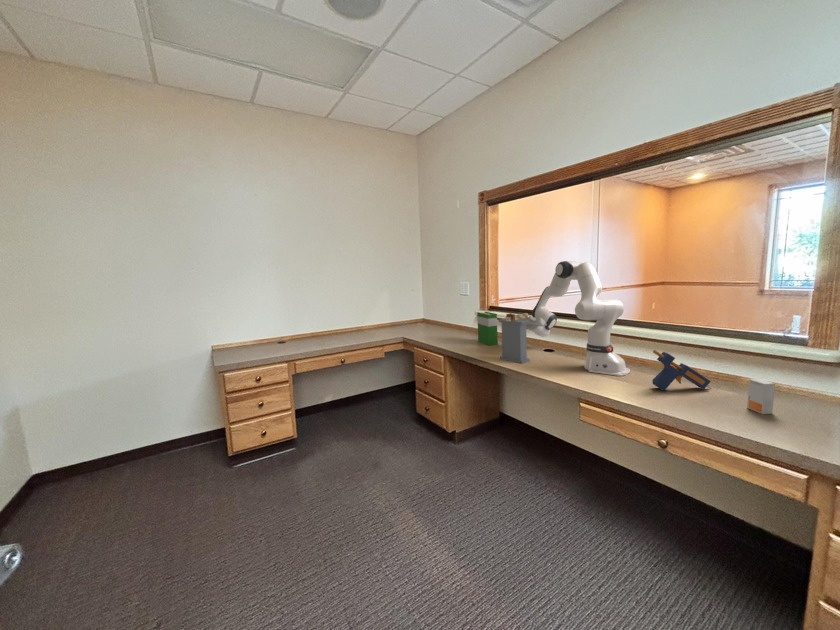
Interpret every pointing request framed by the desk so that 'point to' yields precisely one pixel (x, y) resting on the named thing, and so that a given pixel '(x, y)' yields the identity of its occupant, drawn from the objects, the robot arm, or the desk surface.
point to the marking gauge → (515, 316)
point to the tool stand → (514, 340)
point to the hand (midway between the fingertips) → (523, 316)
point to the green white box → (487, 328)
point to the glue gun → (676, 373)
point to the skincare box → (761, 396)
